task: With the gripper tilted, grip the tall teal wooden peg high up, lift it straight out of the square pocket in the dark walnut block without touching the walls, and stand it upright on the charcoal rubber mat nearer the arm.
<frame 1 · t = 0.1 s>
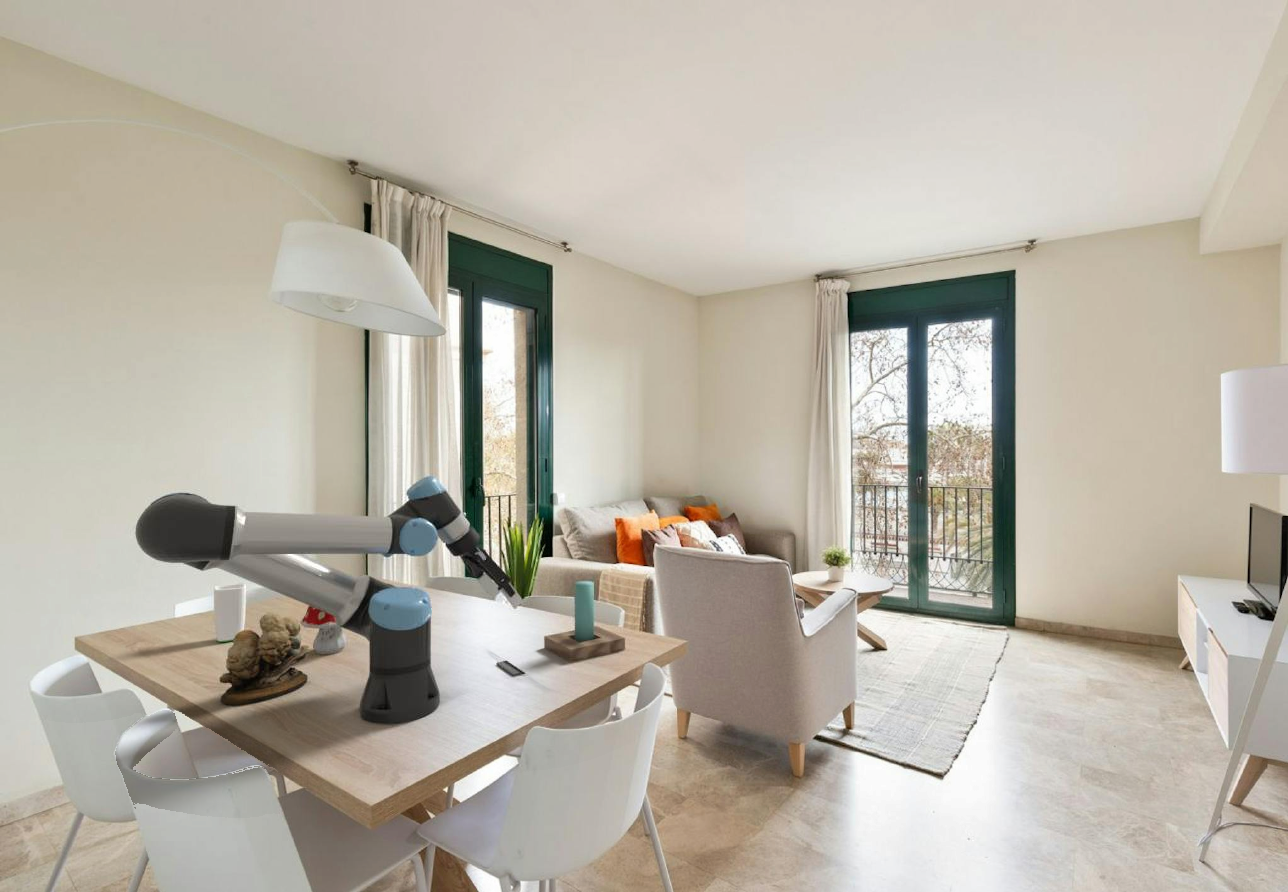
hand: (507, 600, 152), 15 cm above the table, fingers open, 13 cm apart
brown lumpy sculpture: (267, 691, 135), on the table
charcoal mat: (524, 666, 149), on the table
teal peg: (584, 648, 159), point 1 cm above the table, touching walnut holder
walnut holder: (584, 652, 159), on the table
decorative mushroom: (330, 651, 162), on the table
cup: (229, 640, 172), on the table
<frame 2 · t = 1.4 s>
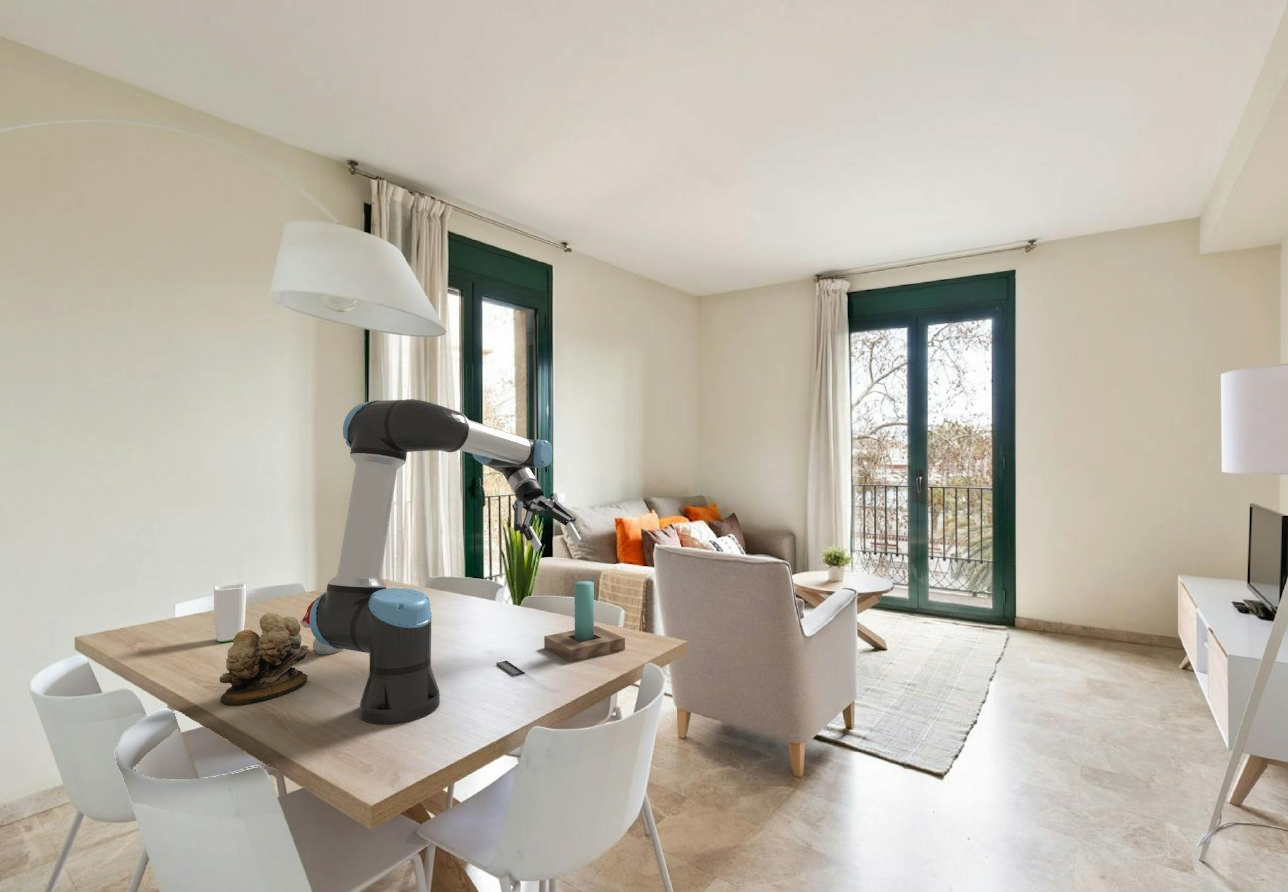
hand: (559, 545, 167), 27 cm above the table, fingers open, 13 cm apart
nothing on the table moved.
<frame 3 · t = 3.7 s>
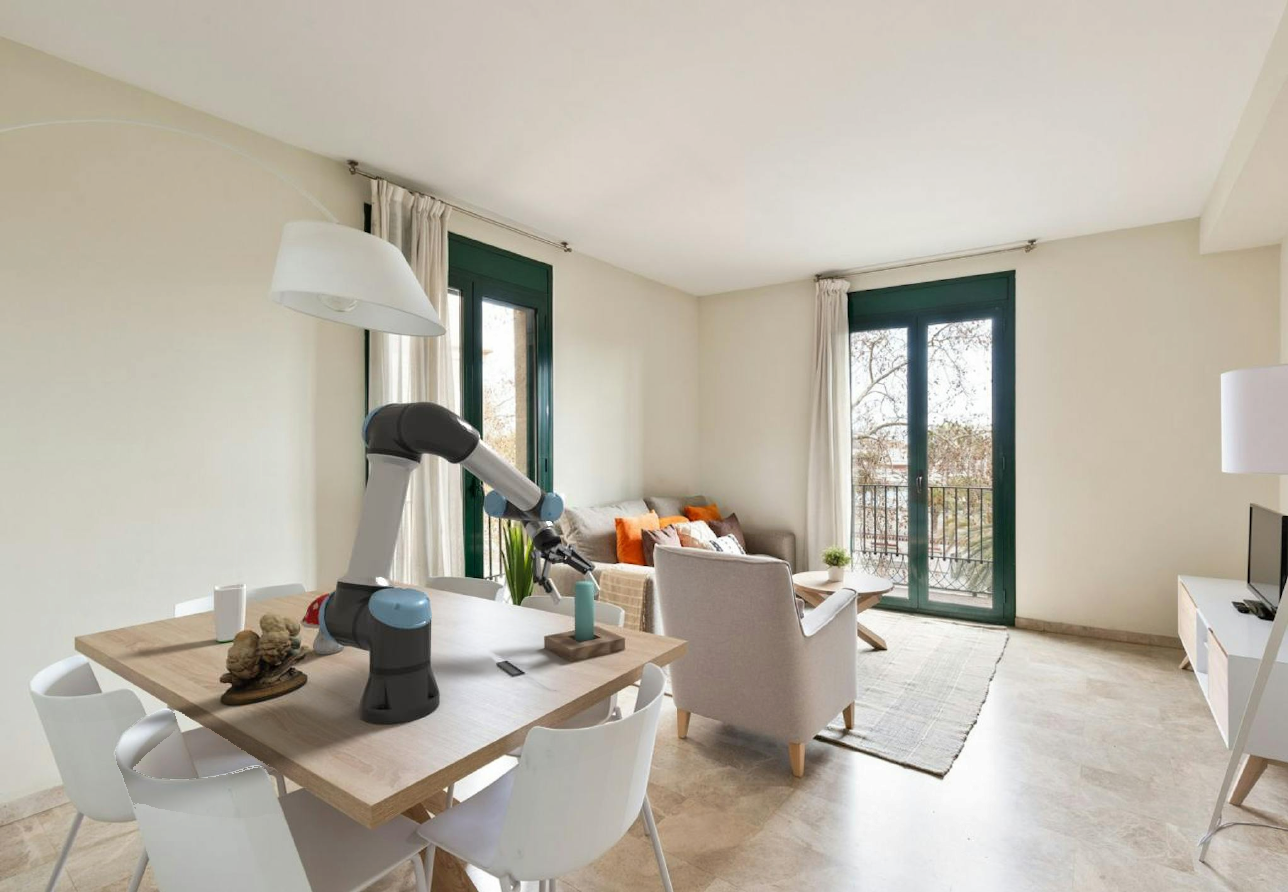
hand: (578, 597, 163), 14 cm above the table, fingers open, 13 cm apart
nothing on the table moved.
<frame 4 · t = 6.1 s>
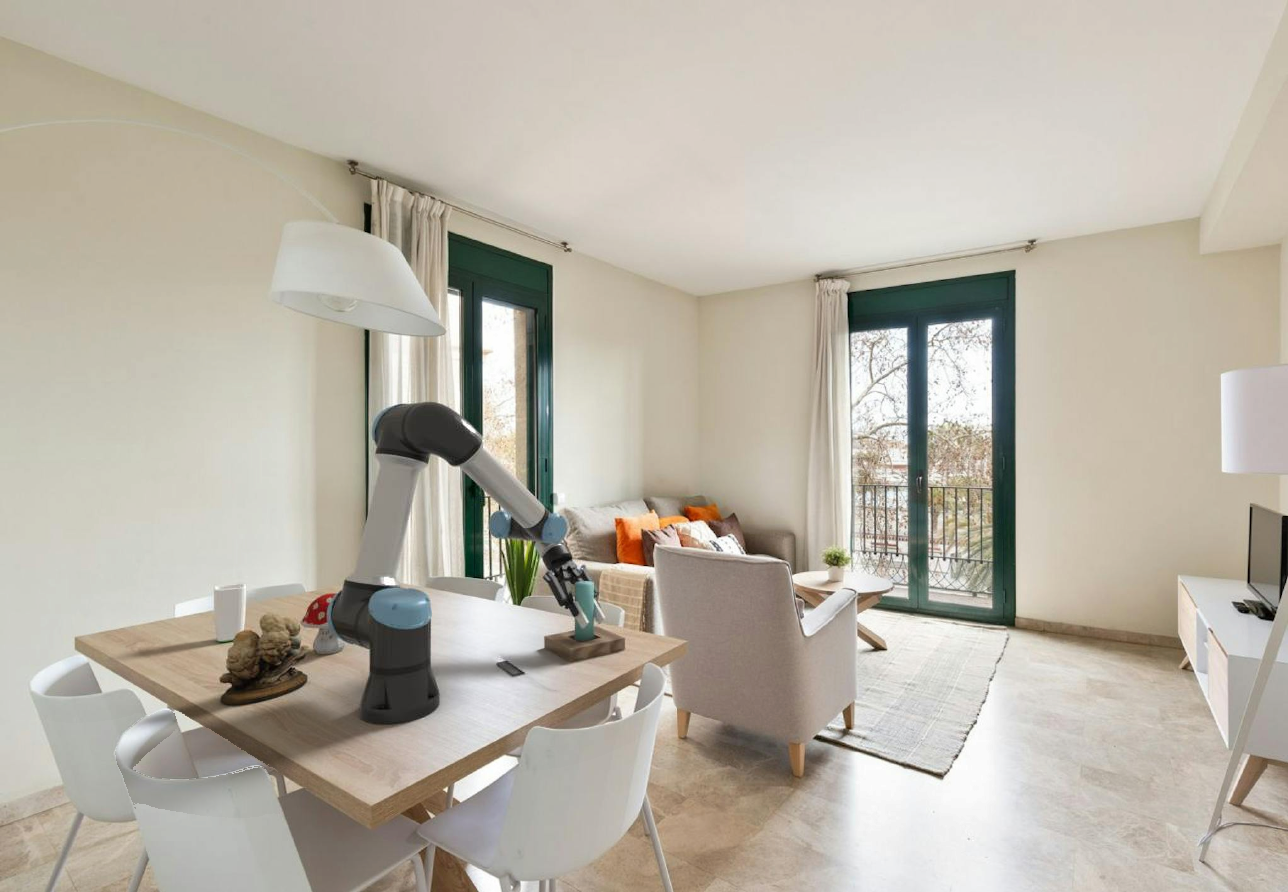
hand: (593, 623, 157), 8 cm above the table, fingers closed on teal peg, 5 cm apart
teal peg: (584, 648, 159), point 1 cm above the table, touching gripper, walnut holder
everything else where it was.
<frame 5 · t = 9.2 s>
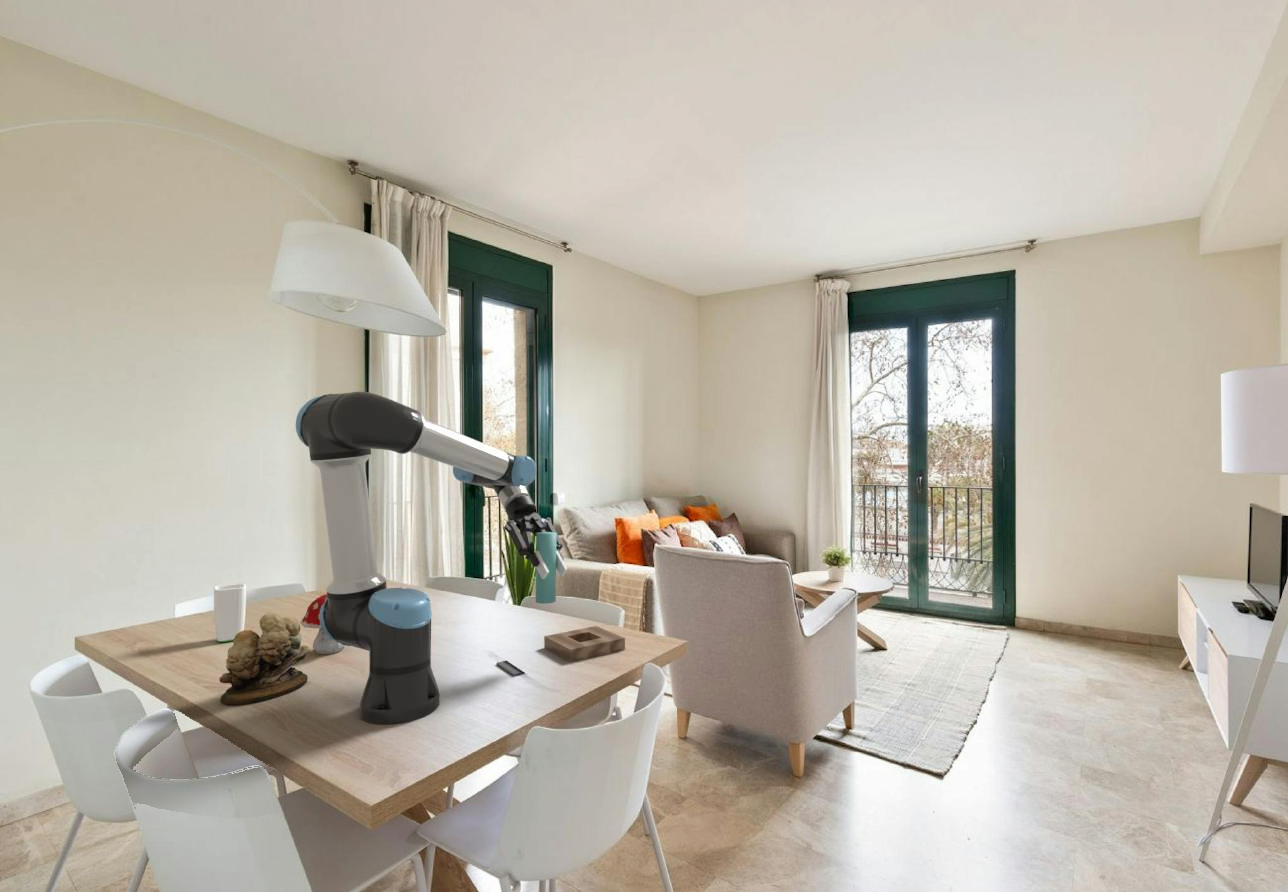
hand: (554, 574, 151), 22 cm above the table, fingers closed on teal peg, 5 cm apart
teal peg: (545, 601, 153), point 15 cm above the table, touching gripper
everything else where it was.
when the fingers open (9 cm above the table, at t = 12.4 s): teal peg drops 1 cm, resting on charcoal mat.
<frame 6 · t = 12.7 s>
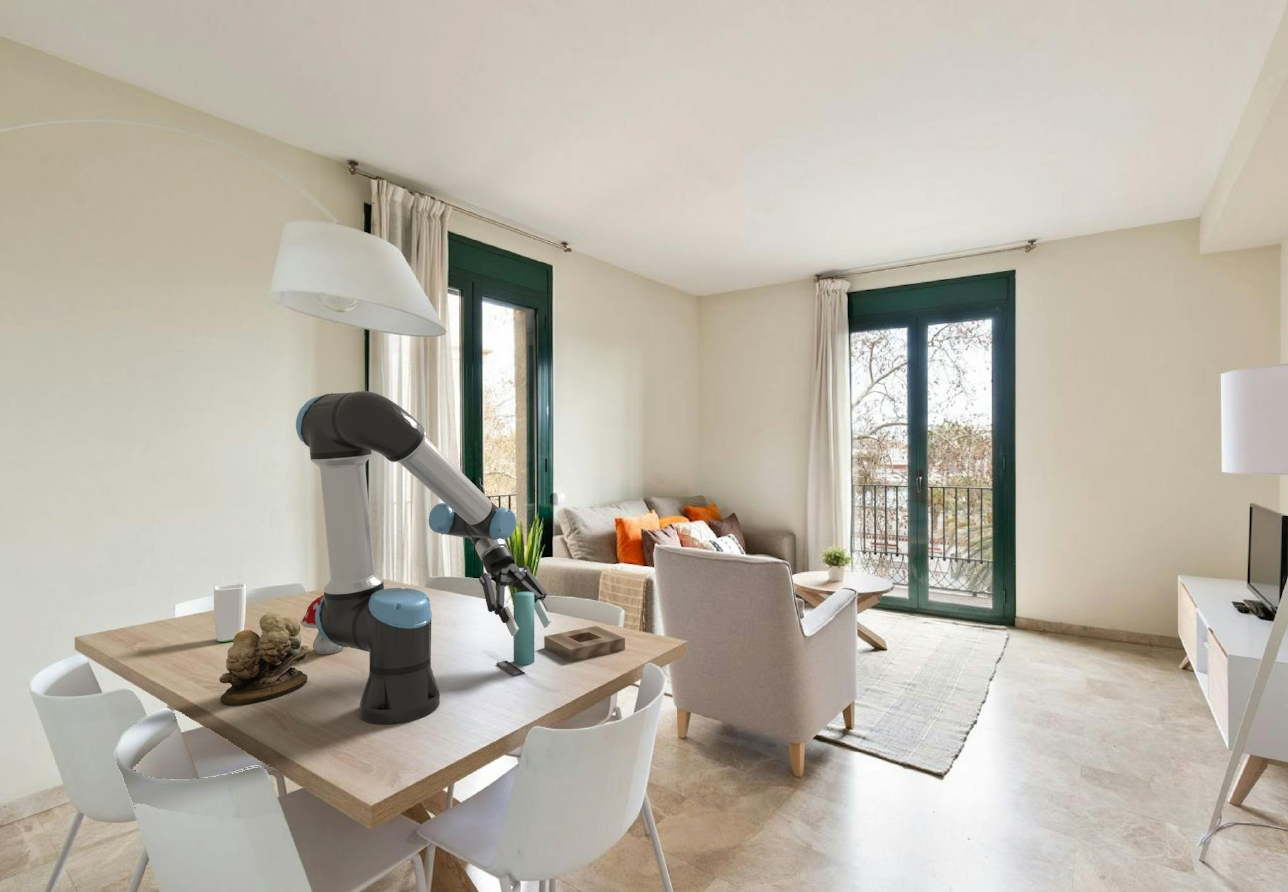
hand: (531, 628, 147), 10 cm above the table, fingers open, 9 cm apart
teal peg: (524, 663, 149), resting on charcoal mat
everything else where it was.
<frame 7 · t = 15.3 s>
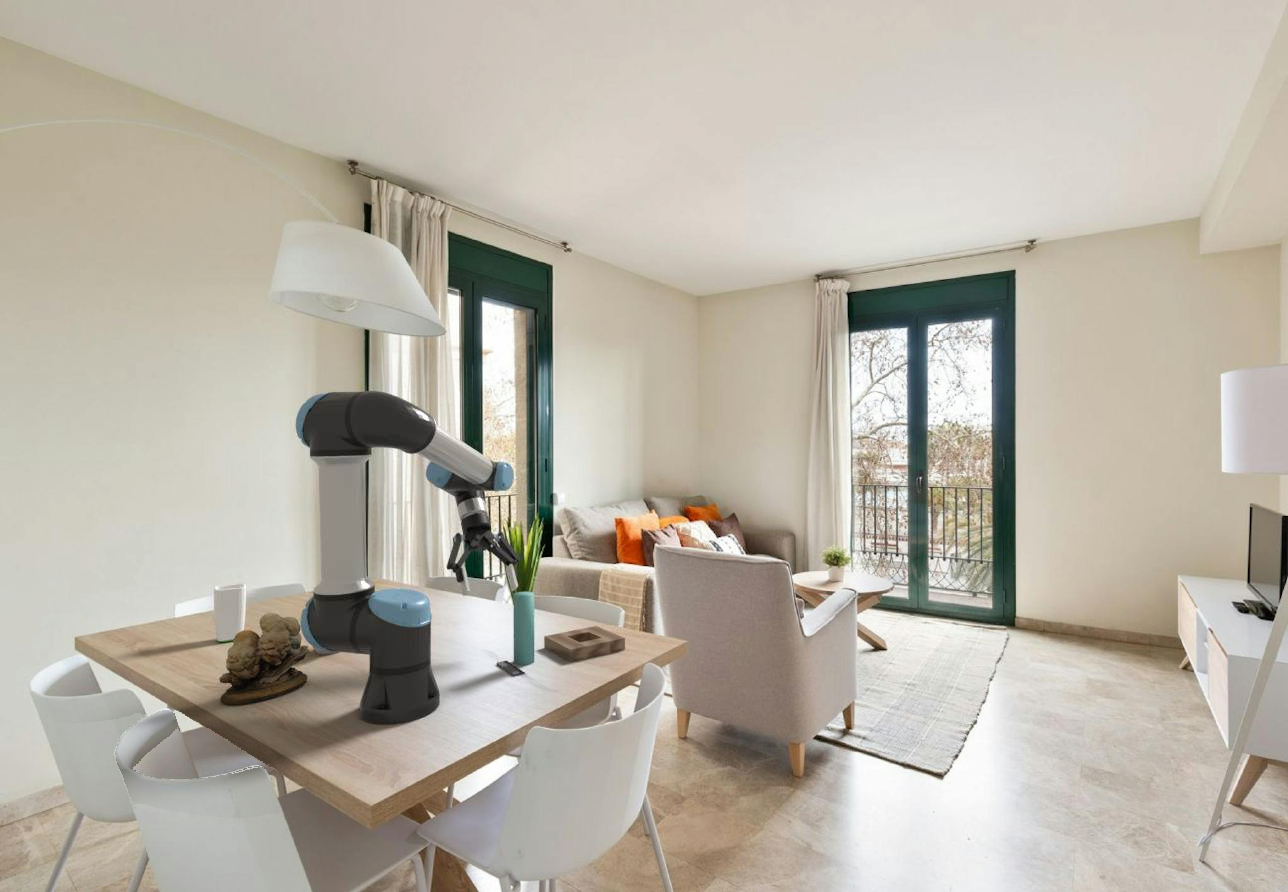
hand: (491, 591, 158), 16 cm above the table, fingers open, 13 cm apart
nothing on the table moved.
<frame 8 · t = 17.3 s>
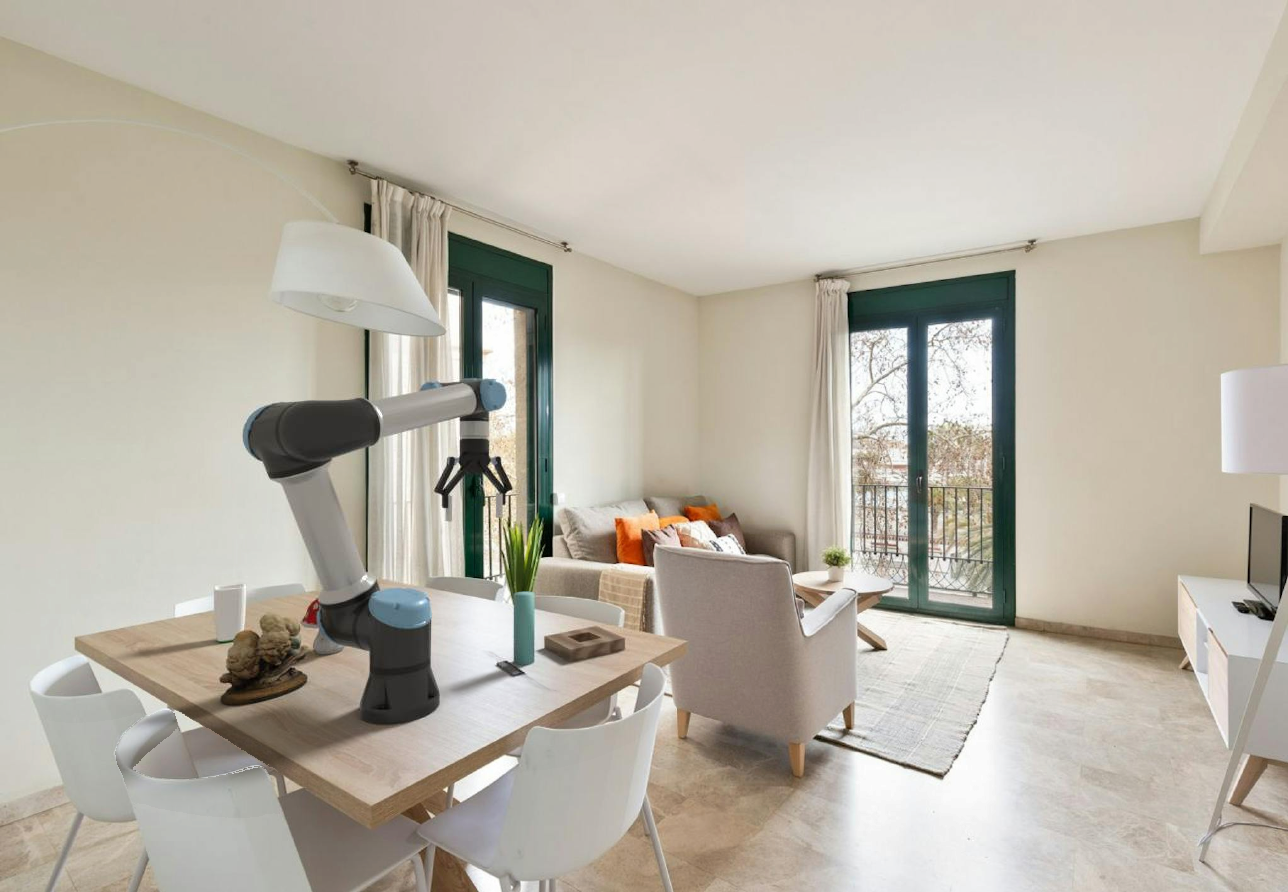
hand: (474, 519, 160), 35 cm above the table, fingers open, 13 cm apart
nothing on the table moved.
at the end: teal peg inside the target area (0.1 cm from its centre), point 0.5 cm above the table; teal peg tilted 1°; the gripper is holding nothing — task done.
